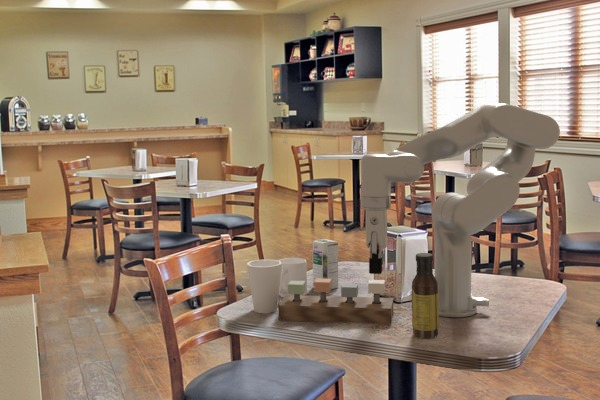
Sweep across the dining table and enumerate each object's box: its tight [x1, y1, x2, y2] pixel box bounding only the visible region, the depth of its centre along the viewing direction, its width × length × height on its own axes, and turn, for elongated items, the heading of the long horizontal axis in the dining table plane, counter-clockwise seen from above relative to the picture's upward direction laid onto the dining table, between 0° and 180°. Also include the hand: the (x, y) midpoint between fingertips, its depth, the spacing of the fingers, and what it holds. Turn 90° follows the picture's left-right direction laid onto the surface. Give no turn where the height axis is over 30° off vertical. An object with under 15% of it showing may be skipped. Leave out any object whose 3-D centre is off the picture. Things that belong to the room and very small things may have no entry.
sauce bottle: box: [411, 252, 440, 340], centre depth 178 cm, size 6×6×20 cm
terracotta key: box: [313, 278, 333, 303], centre depth 196 cm, size 4×4×7 cm
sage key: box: [288, 281, 306, 302], centre depth 197 cm, size 4×4×7 cm
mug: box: [278, 257, 308, 299], centre depth 216 cm, size 12×8×10 cm
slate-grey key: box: [340, 282, 359, 303], centre depth 195 cm, size 4×4×7 cm
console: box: [277, 295, 394, 325], centre depth 196 cm, size 29×10×4 cm, turn 80°
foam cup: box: [246, 258, 282, 314], centre depth 203 cm, size 10×9×13 cm
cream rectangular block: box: [367, 279, 386, 304], centre depth 193 cm, size 4×4×7 cm
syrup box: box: [312, 238, 339, 290], centre depth 225 cm, size 6×6×14 cm
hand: (375, 272), depth 193 cm, fingers closed
